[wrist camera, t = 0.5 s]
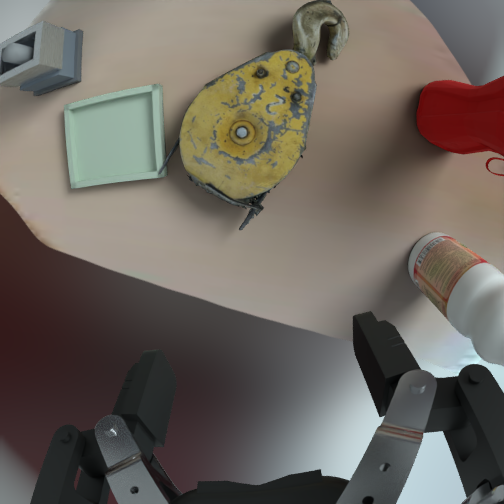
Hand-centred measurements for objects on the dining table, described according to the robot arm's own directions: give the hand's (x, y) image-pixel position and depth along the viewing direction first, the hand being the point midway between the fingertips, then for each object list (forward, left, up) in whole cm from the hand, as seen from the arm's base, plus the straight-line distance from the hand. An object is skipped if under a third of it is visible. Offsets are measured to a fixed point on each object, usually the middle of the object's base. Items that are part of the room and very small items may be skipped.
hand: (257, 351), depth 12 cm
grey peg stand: (-22, -26, -28) cm, 44 cm away
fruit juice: (+10, +28, -28) cm, 41 cm away
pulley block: (-13, +3, -28) cm, 31 cm away
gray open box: (-22, -26, -23) cm, 41 cm away
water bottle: (-11, +27, -28) cm, 41 cm away
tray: (-9, -17, -28) cm, 34 cm away
